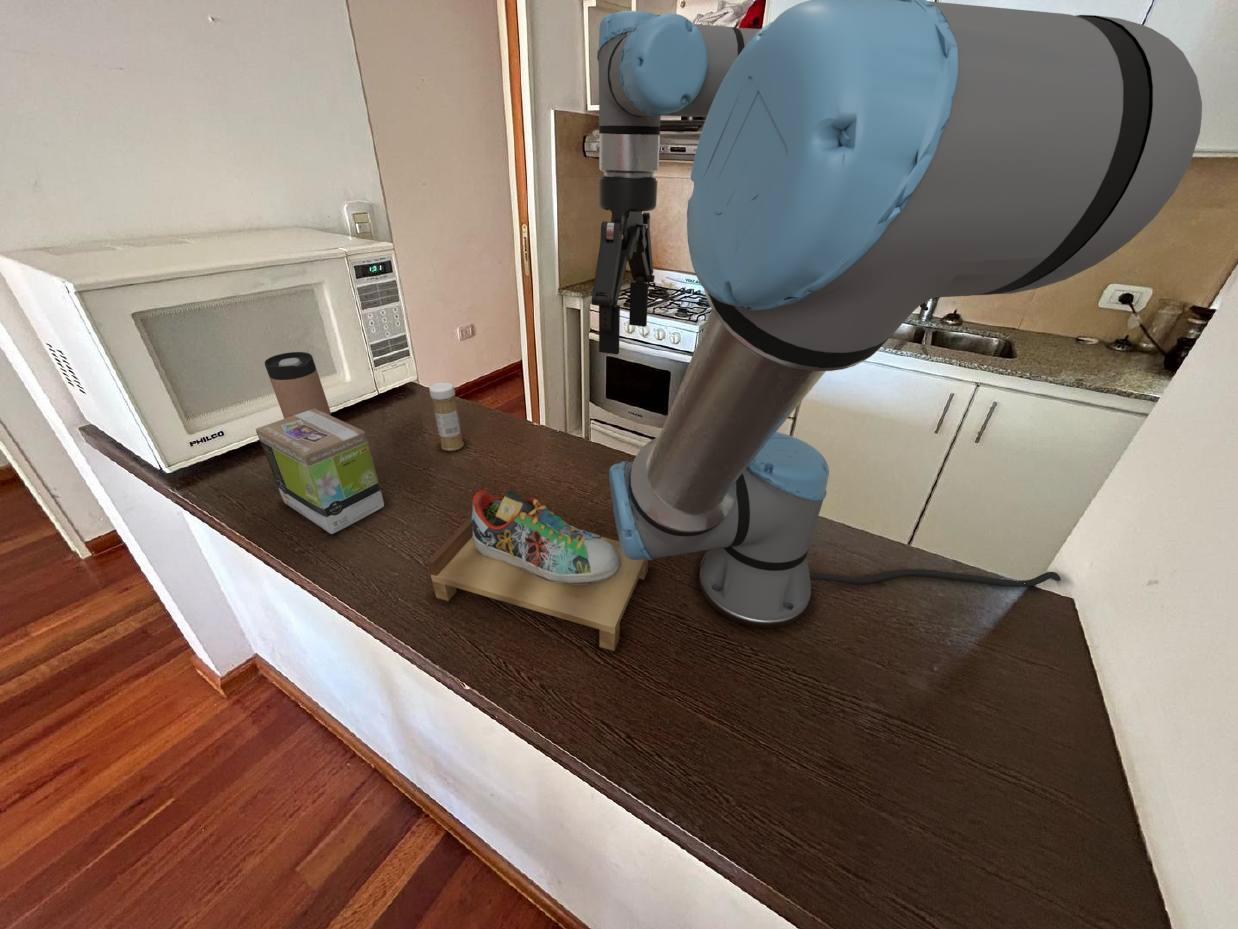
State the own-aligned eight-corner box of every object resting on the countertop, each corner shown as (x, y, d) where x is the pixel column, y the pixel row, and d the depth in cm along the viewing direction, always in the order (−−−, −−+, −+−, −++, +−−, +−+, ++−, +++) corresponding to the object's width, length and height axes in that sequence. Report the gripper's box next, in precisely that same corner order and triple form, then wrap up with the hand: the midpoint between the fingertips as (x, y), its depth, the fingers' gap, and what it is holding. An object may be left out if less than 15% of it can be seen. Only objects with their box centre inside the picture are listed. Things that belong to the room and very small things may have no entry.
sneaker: (608, 599, 64) (607, 540, 59) (462, 560, 70) (450, 503, 65) (627, 560, 70) (628, 503, 65) (491, 527, 76) (482, 473, 71)
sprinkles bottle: (464, 440, 107) (454, 380, 100) (463, 451, 103) (453, 389, 96) (441, 442, 106) (429, 382, 99) (440, 453, 102) (427, 391, 95)
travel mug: (304, 448, 103) (269, 353, 92) (345, 443, 105) (316, 349, 94) (295, 468, 97) (258, 368, 86) (340, 462, 99) (308, 364, 88)
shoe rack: (647, 570, 75) (650, 535, 72) (614, 651, 63) (615, 613, 60) (493, 531, 82) (488, 497, 78) (436, 597, 70) (427, 561, 66)
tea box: (387, 506, 87) (366, 429, 80) (331, 537, 80) (302, 456, 72) (338, 477, 94) (314, 405, 87) (282, 504, 87) (251, 427, 80)
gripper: (630, 170, 76) (626, 313, 87) (560, 178, 56) (567, 362, 67) (679, 172, 74) (669, 318, 85) (625, 180, 54) (621, 370, 65)
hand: (624, 338), depth 76 cm, fingers open, 13 cm apart
